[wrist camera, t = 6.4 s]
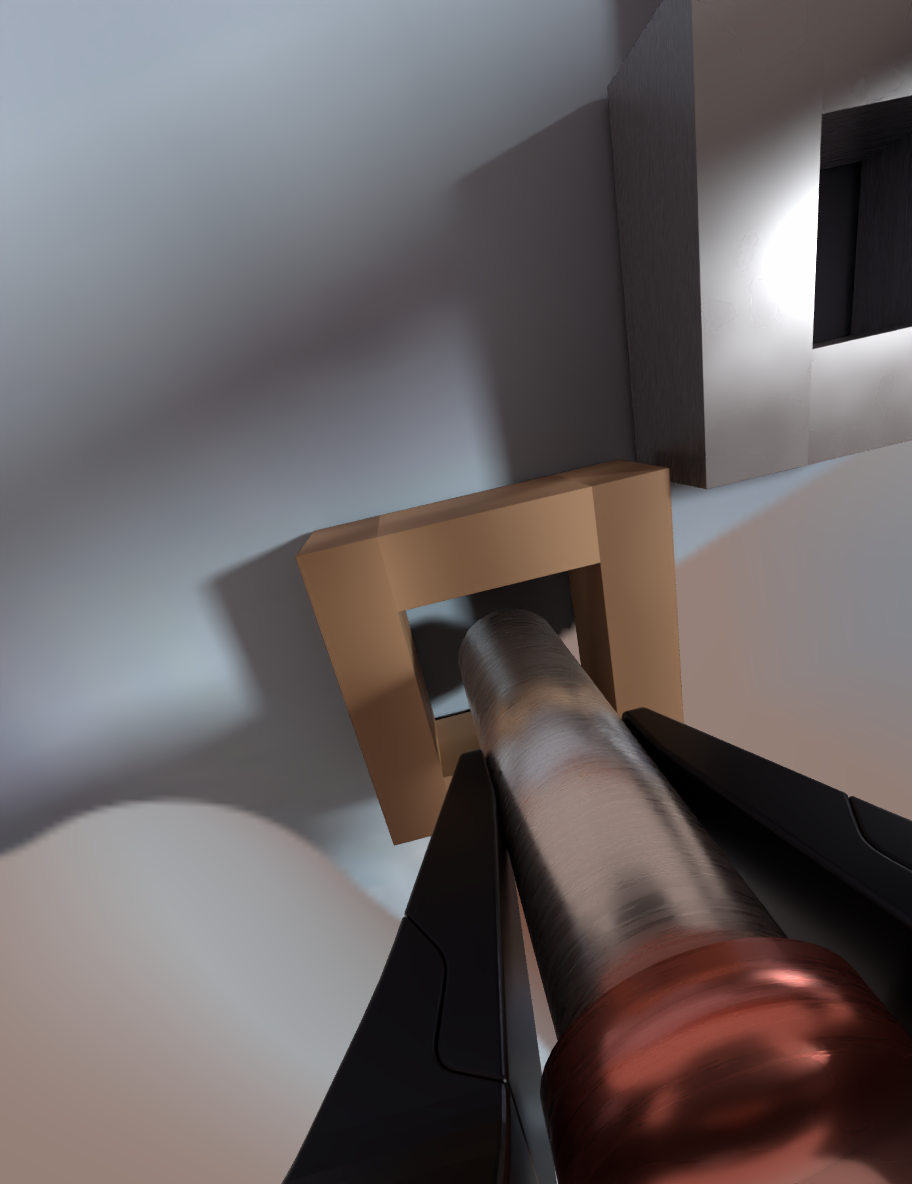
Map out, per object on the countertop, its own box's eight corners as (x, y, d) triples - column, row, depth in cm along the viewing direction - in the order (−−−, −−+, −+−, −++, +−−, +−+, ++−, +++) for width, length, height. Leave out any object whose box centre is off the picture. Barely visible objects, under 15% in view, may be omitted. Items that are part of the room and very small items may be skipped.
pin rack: (617, 459, 13) (668, 467, 10) (641, 715, 15) (686, 768, 13) (313, 531, 12) (295, 556, 10) (394, 779, 15) (394, 845, 13)
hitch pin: (560, 583, 12) (991, 1003, 3) (576, 693, 13) (931, 1222, 4) (433, 614, 12) (539, 1135, 3) (460, 722, 13) (593, 1324, 4)
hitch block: (1010, -359, 9) (1307, -733, 6) (921, 407, 13) (1064, 403, 10) (577, -287, 8) (671, -645, 6) (638, 474, 13) (706, 489, 10)
